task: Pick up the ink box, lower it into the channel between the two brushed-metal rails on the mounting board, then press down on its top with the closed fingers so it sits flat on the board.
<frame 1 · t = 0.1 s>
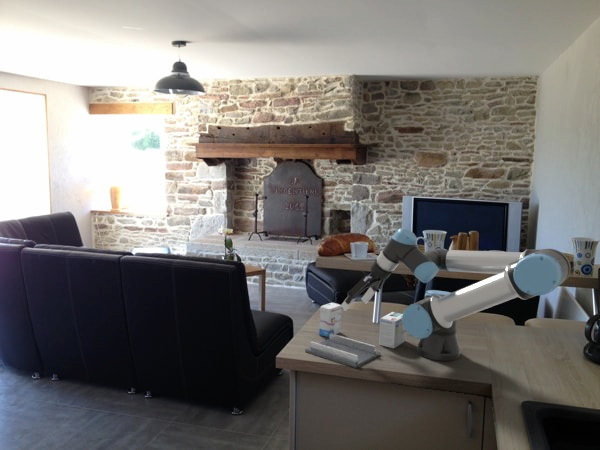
hand: (353, 304, 199), 15 cm above the kitchen counter, tool tilted 35°, fingers open, 13 cm apart
ink box: (329, 334, 212), on the kitchen counter
rail board: (342, 353, 191), on the kitchen counter
light bulb box: (392, 343, 203), on the kitchen counter
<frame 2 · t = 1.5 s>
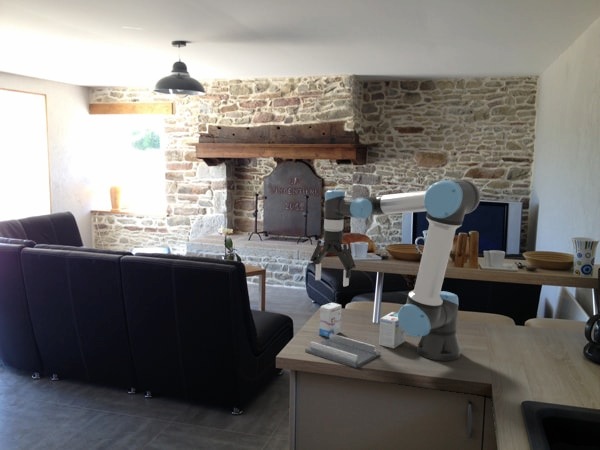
hand: (331, 282, 209), 21 cm above the kitchen counter, tool pointing down, fingers open, 13 cm apart
nothing on the kitchen counter moved.
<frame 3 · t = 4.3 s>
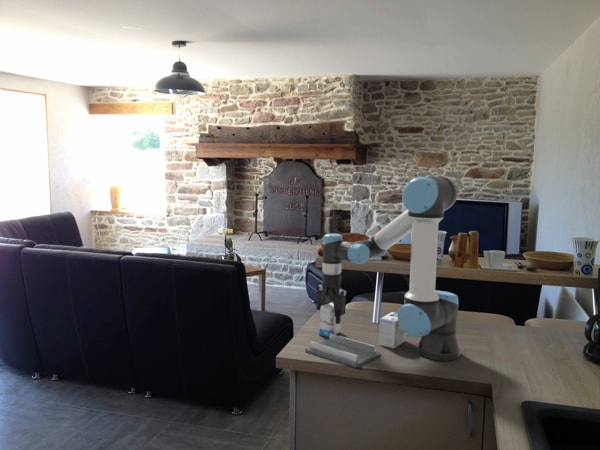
hand: (330, 329, 212), 2 cm above the kitchen counter, tool pointing down, fingers closed on ink box, 5 cm apart
ink box: (330, 334, 212), on the kitchen counter, touching gripper
everything else where it was.
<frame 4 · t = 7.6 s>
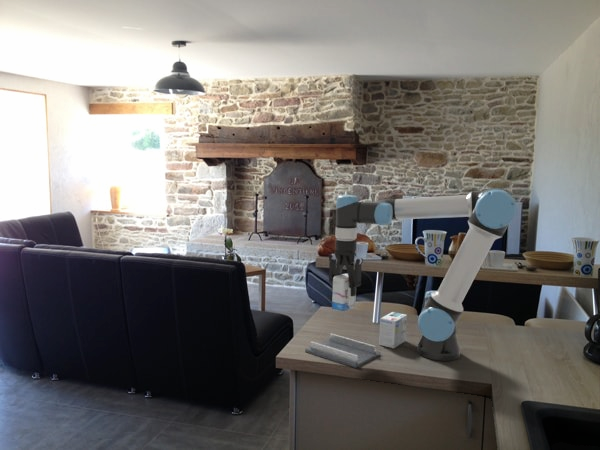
hand: (344, 302, 190), 19 cm above the kitchen counter, tool pointing down, fingers closed on ink box, 5 cm apart
ink box: (344, 308, 190), point 17 cm above the kitchen counter, touching gripper
everything else where it was.
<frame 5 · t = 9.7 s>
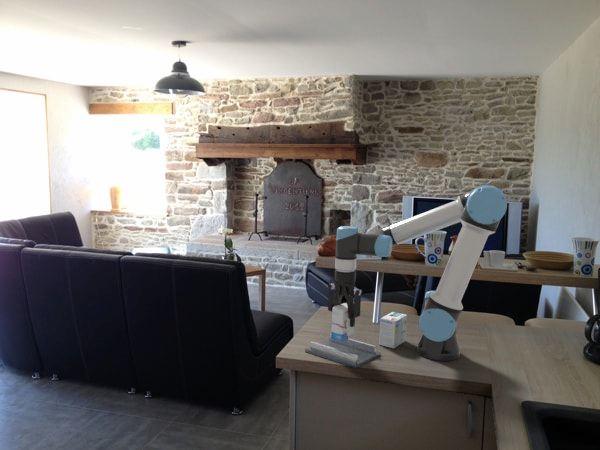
hand: (343, 332, 190), 8 cm above the kitchen counter, tool pointing down, fingers closed on ink box, 5 cm apart
ink box: (342, 338, 190), point 6 cm above the kitchen counter, touching gripper
everything else where it was.
when the fingers open (4 cm above the kitchen counter, at t = 11.1 s): ink box drops 1 cm, resting on rail board.
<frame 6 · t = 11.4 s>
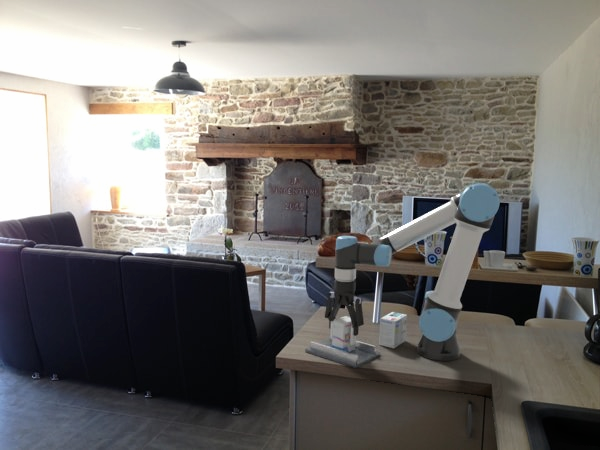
hand: (343, 340, 191), 5 cm above the kitchen counter, tool pointing down, fingers open, 8 cm apart
ink box: (343, 351, 191), point 1 cm above the kitchen counter, touching rail board
everything else where it was.
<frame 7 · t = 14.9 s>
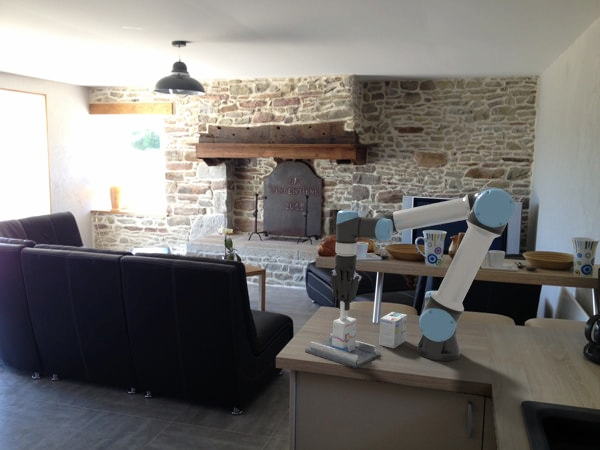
hand: (343, 318, 189), 13 cm above the kitchen counter, tool pointing down, fingers closed
ink box: (343, 351, 191), point 1 cm above the kitchen counter, touching gripper, rail board
everything else where it was.
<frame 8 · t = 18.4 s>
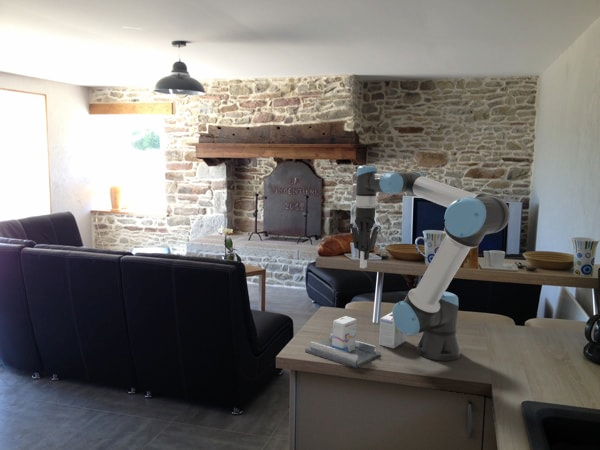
hand: (363, 267, 204), 28 cm above the kitchen counter, tool pointing down, fingers closed
ink box: (343, 351, 191), point 1 cm above the kitchen counter, touching rail board
everything else where it was.
at the end: ink box inside the target area on the rail board (0.4 cm from its centre), point 0.8 cm above the rail board's base; ink box tilted 0°; the gripper is holding nothing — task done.
